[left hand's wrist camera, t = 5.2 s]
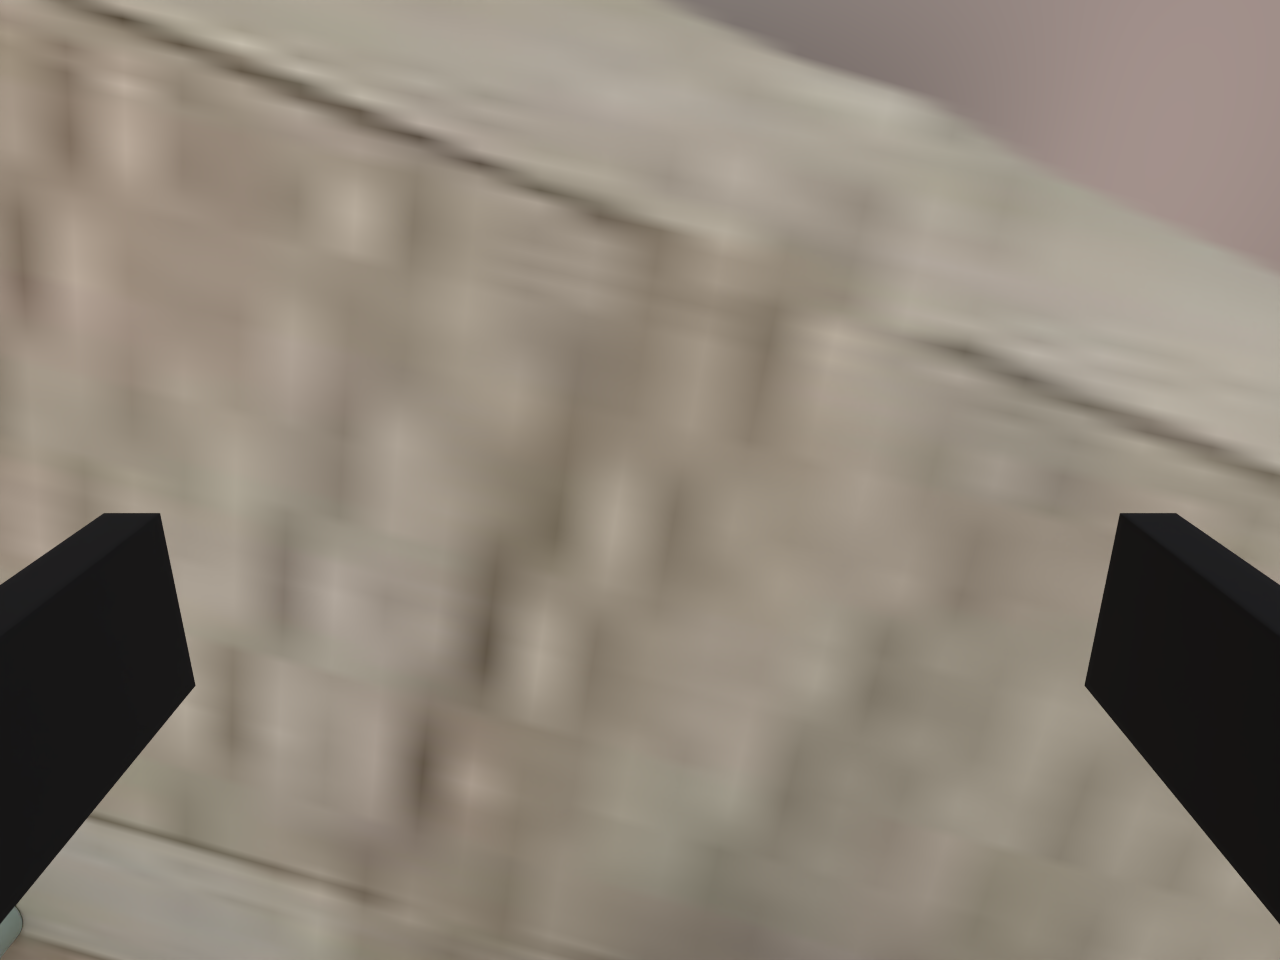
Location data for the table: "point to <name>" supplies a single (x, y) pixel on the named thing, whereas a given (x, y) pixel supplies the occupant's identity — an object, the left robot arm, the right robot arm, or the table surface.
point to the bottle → (9, 929)
